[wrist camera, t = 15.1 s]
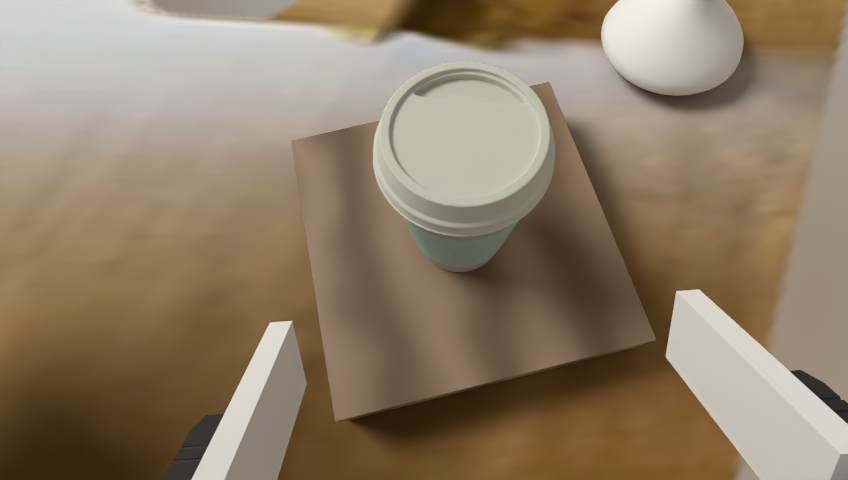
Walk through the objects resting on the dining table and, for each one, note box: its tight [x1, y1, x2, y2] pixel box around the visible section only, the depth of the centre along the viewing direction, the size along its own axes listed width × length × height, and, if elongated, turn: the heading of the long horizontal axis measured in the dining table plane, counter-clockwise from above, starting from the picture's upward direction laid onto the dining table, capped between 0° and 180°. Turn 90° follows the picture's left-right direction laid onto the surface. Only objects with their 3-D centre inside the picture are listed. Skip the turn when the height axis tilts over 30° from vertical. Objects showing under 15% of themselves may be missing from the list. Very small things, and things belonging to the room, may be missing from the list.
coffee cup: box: [373, 61, 555, 272], centre depth 26 cm, size 8×9×12 cm
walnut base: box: [291, 82, 656, 421], centre depth 33 cm, size 20×20×4 cm
